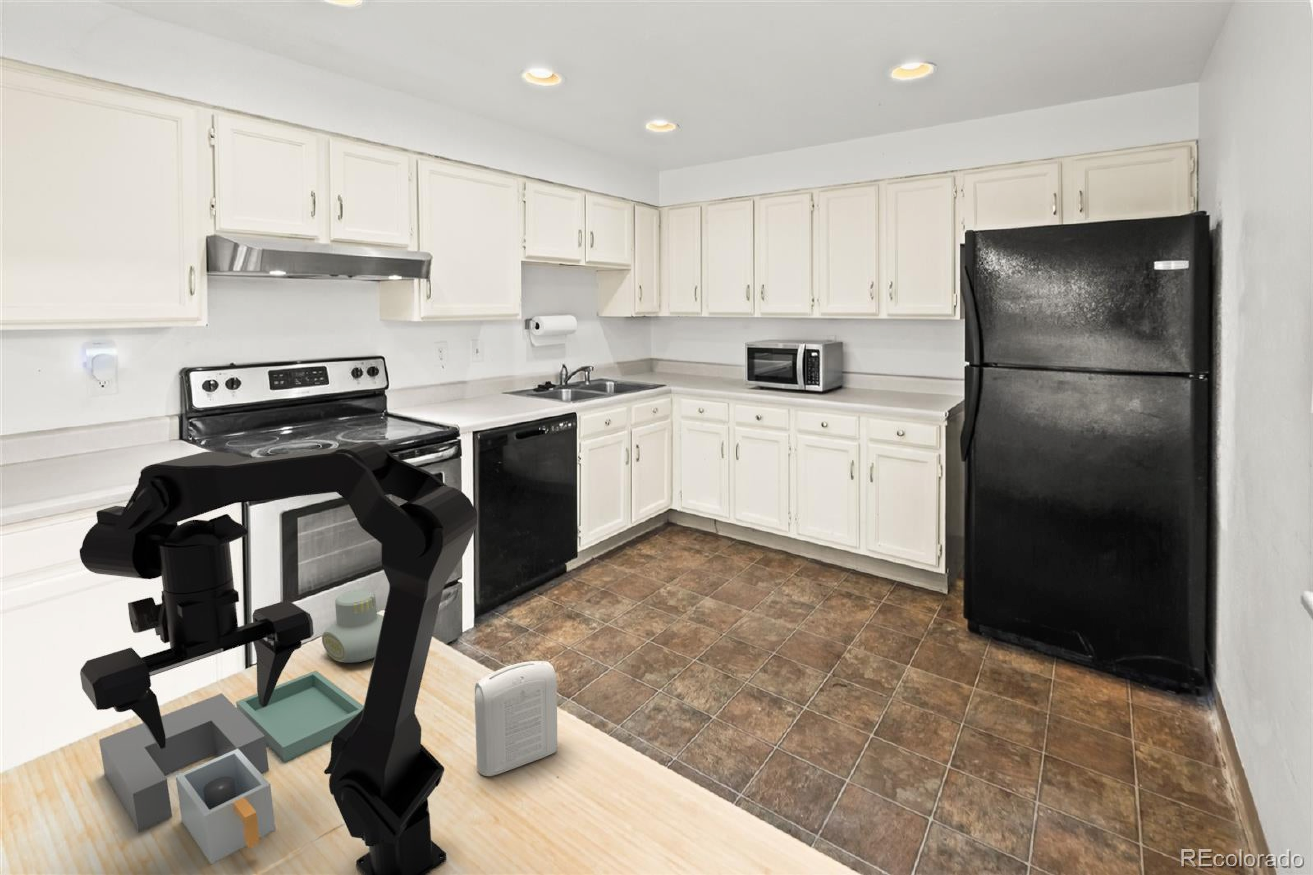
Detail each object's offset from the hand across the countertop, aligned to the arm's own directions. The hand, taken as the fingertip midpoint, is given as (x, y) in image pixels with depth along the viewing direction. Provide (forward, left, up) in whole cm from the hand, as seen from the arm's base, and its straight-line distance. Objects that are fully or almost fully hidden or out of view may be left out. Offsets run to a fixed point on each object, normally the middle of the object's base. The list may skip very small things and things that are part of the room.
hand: (215, 725), depth 69 cm
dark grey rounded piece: (+2, 0, -12) cm, 13 cm away
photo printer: (-14, -28, -13) cm, 33 cm away
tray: (+14, -14, -13) cm, 24 cm away
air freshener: (+26, -28, -13) cm, 41 cm away
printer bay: (+14, 0, -13) cm, 19 cm away
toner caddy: (-1, 0, -13) cm, 13 cm away
